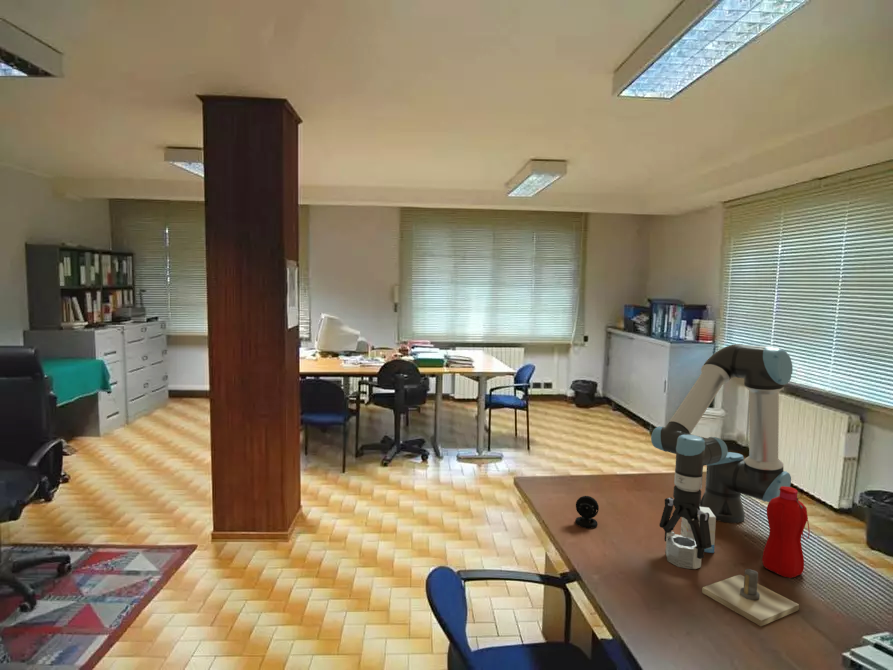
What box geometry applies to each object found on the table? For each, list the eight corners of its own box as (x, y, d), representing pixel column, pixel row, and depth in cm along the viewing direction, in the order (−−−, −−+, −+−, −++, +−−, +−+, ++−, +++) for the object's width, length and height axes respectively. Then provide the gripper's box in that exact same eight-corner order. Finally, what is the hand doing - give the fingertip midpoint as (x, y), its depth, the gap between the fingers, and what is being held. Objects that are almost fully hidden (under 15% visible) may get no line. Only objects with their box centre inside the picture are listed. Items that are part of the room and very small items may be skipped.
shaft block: (739, 579, 149) (741, 552, 149) (798, 610, 135) (801, 580, 134) (702, 592, 142) (704, 564, 141) (760, 626, 128) (763, 594, 127)
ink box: (714, 553, 164) (717, 512, 163) (685, 550, 166) (688, 509, 165) (706, 541, 173) (709, 501, 172) (679, 538, 174) (682, 499, 173)
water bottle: (795, 584, 147) (803, 498, 146) (757, 566, 157) (763, 484, 155) (814, 577, 152) (821, 493, 150) (775, 560, 161) (782, 480, 160)
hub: (680, 551, 165) (681, 532, 164) (706, 564, 157) (707, 545, 156) (660, 557, 161) (661, 538, 160) (685, 571, 153) (687, 551, 152)
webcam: (573, 526, 181) (574, 498, 180) (576, 518, 188) (577, 490, 187) (596, 530, 178) (598, 502, 177) (598, 522, 185) (600, 494, 184)
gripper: (649, 477, 165) (645, 546, 167) (712, 502, 146) (706, 580, 147) (666, 474, 168) (661, 542, 170) (729, 498, 149) (723, 574, 151)
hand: (682, 560), depth 159 cm, fingers closed on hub, 9 cm apart
